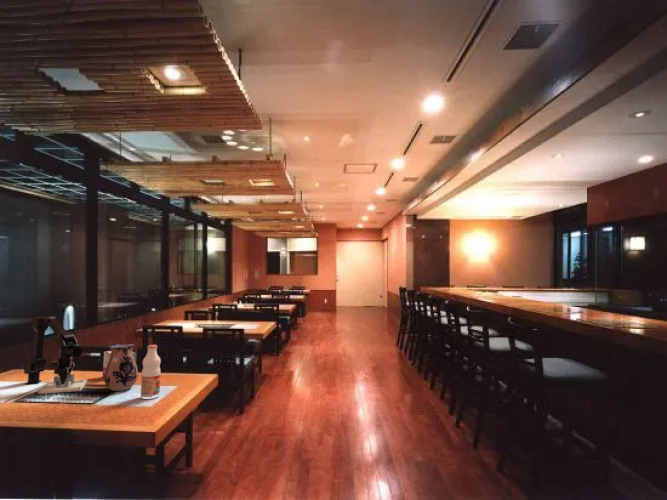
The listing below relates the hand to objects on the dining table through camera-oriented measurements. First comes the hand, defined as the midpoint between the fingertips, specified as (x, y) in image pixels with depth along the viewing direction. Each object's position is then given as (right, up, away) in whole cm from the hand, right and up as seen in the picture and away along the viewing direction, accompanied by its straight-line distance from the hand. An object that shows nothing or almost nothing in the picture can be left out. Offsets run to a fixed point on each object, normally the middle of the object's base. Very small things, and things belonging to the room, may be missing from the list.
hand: (63, 382), depth 231 cm
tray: (0, -3, 0) cm, 3 cm away
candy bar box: (+14, -5, +25) cm, 29 cm away
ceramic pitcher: (+31, -4, +2) cm, 32 cm away
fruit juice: (+56, -4, -14) cm, 58 cm away
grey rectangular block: (0, -1, 0) cm, 1 cm away
